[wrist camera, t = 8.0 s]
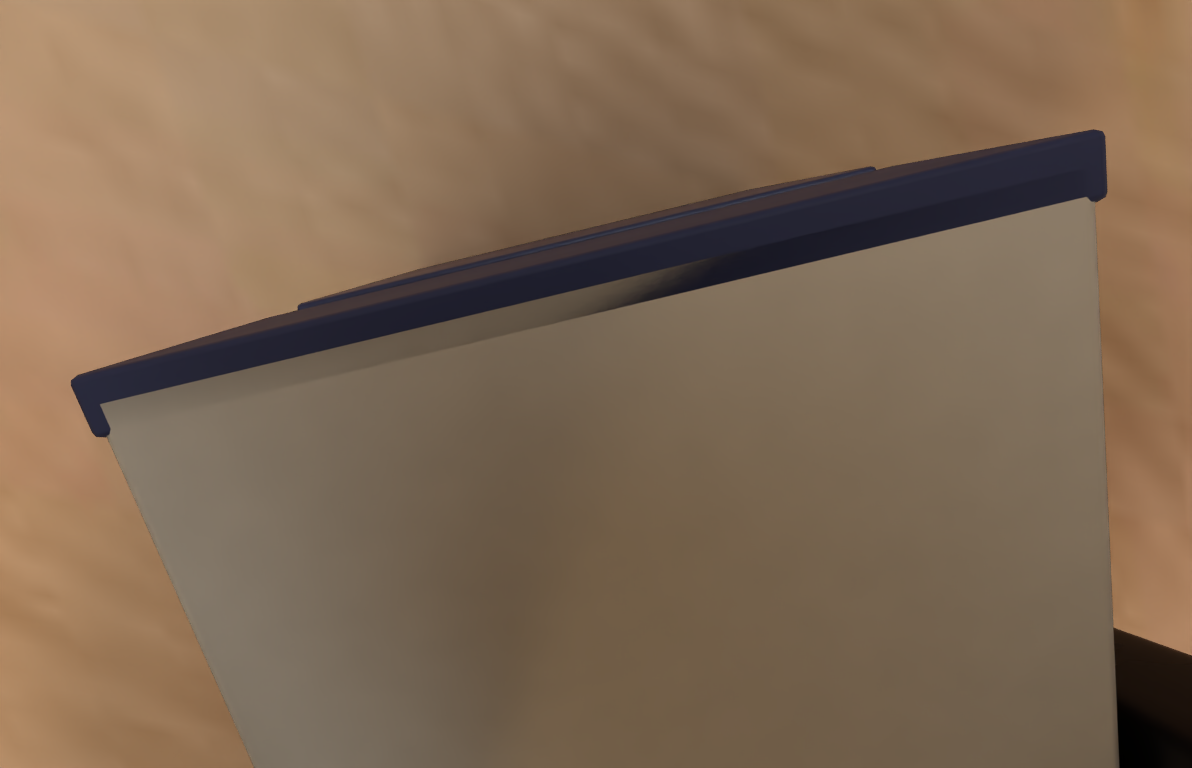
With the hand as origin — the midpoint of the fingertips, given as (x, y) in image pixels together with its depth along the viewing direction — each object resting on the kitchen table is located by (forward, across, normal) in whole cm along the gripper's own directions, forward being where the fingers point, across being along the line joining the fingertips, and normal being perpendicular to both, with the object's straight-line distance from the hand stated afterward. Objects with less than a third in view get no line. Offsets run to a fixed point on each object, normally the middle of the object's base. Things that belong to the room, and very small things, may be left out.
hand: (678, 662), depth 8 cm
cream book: (0, 0, 0) cm, 0 cm away
